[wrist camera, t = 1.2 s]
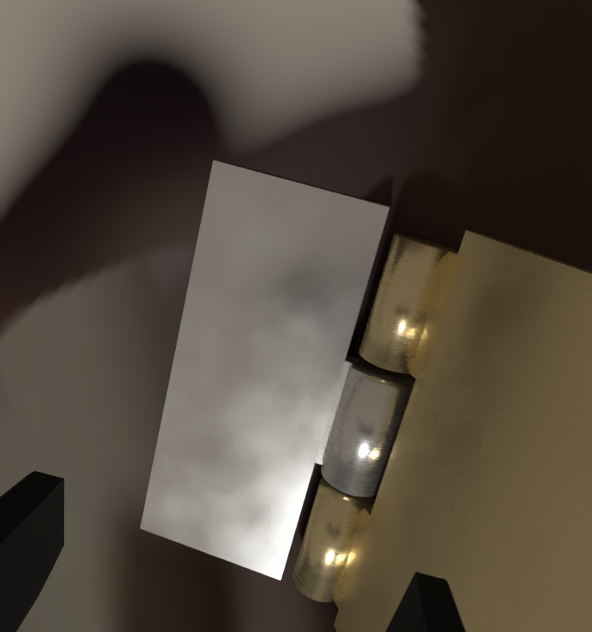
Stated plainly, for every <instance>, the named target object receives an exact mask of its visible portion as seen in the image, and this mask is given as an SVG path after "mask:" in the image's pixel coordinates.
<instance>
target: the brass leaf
mask: <svg viewBox="0 0 592 632" xmlns="http://www.w3.org/2000/svg"><path fill="white" fill-rule="evenodd" d="M359 354H360V356H361V357H362V358H364V359H365V360H366V361H368V362H370V363H371V364H373V365H376V366H378V367H380V368H383V369H386V370H389V371H393V372H398V373H409V374H411V375H412V376H413V377H414V378H416V380H415V383H414V386H413V389H412V392H411V395H410V398H409V401H408V404H407V407H406V410H405V413H404V416H403V419H402V422H401V425H400V428H399V431H398V434H397V437H396V440H395V443H394V446H393V449H392V452H391V455H390V458H389V461H388V464H387V467H386V470H385V473H384V476H383V479H382V482H381V485H380V488H379V491H378V494H377V497H376V500H375V503H374V496H371V497H358V496H353V495H349V494H346V493H343V492H341V491H339V490H337V489H336V488H334V487H333V486H331V485H330V484H329V483H328V482H327V481H326V480H325V479H324V477H323V478H322V479H321V480H320V483H319V487H318V490H317V493H316V497H315V500H314V503H313V507H312V510H311V513H310V517H309V520H308V523H307V527H306V530H305V533H304V537H303V540H302V544H301V547H300V550H299V554H298V557H297V560H296V564H295V567H294V570H293V581H294V584H295V585H296V587H297V588H298V590H299V591H300V592H301V593H303V594H304V595H305V596H307V597H309V598H311V599H313V600H316V601H319V602H332V601H334V602H335V603H336V605H337V607H338V609H339V610H338V613H337V616H336V619H335V622H334V627H335V629H336V631H337V632H386V629H387V627H388V625H389V623H390V621H391V619H392V617H393V615H394V614H395V612H396V610H397V608H398V606H399V604H400V602H401V600H402V598H403V596H404V594H405V592H406V590H407V588H408V586H409V584H410V582H411V580H412V578H413V576H414V574H415V572H419V573H423V574H427V575H430V576H434V577H438V578H442V579H445V580H446V581H447V582H448V584H449V586H450V589H451V592H452V595H453V598H454V600H455V603H456V606H457V609H458V611H459V614H460V617H461V620H462V622H463V625H464V628H465V630H466V632H592V271H590V270H587V269H584V268H581V267H579V266H576V265H573V264H570V263H567V262H564V261H561V260H558V259H555V258H552V257H549V256H546V255H543V254H541V253H538V252H535V251H532V250H529V249H526V248H523V247H520V246H517V245H514V244H511V243H508V242H505V241H503V240H500V239H497V238H494V237H491V236H488V235H485V234H481V233H476V232H472V231H467V230H466V231H465V234H464V237H463V240H462V243H461V246H460V249H459V252H457V250H455V249H453V248H451V247H448V246H446V245H443V244H440V243H437V242H433V241H430V240H426V239H423V238H419V237H415V236H410V235H406V234H400V233H394V236H393V239H392V242H391V246H390V249H389V252H388V256H387V259H386V262H385V266H384V269H383V272H382V276H381V279H380V282H379V286H378V289H377V292H376V296H375V299H374V302H373V306H372V309H371V313H370V316H369V319H368V323H367V326H366V329H365V333H364V336H363V339H362V343H361V346H360V349H359ZM373 503H374V505H373Z"/></svg>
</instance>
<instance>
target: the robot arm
mask: <svg viewBox="0 0 592 632" xmlns="http://www.w3.org/2000/svg"><path fill="white" fill-rule="evenodd" d="M63 546H64V478H60V477H56V476H52V475H49V474H45V473H41V472H37V471H34V472H32V473H30V474H29V475H27V476H26V477H25V478H23V479H22V480H21V481H20V482H18V483H17V484H16V485H15V486H13V487H12V488H11V489H10V490H8V491H7V492H6V493H5V494H3V495H2V496H1V497H0V632H16V631H17V629H18V628H19V626H20V625H21V623H22V621H23V620H24V618H25V617H26V615H27V614H28V612H29V610H30V609H31V607H32V606H33V604H34V602H35V601H36V599H37V598H38V596H39V594H40V592H41V590H42V588H43V586H44V584H45V582H46V580H47V578H48V576H49V575H50V573H51V571H52V568H53V566H54V564H55V562H56V560H57V558H58V556H59V554H60V552H61V550H62V548H63ZM386 632H466V630H465V628H464V625H463V622H462V620H461V617H460V614H459V611H458V609H457V606H456V603H455V600H454V598H453V595H452V592H451V589H450V586H449V584H448V582H447V581H446V580H445V579H442V578H438V577H434V576H430V575H427V574H423V573H419V572H415V574H414V576H413V578H412V580H411V582H410V584H409V586H408V588H407V590H406V592H405V594H404V596H403V598H402V600H401V602H400V604H399V606H398V608H397V610H396V612H395V614H394V615H393V617H392V619H391V621H390V623H389V625H388V627H387V629H386Z"/></svg>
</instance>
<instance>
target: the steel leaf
mask: <svg viewBox="0 0 592 632" xmlns="http://www.w3.org/2000/svg"><path fill="white" fill-rule="evenodd" d="M390 207H391V206H389V205H385V204H381V203H377V202H374V201H370V200H366V199H362V198H359V197H355V196H351V195H347V194H343V193H340V192H336V191H332V190H329V189H325V188H321V187H317V186H314V185H310V184H306V183H302V182H299V181H295V180H291V179H287V178H283V177H280V176H276V175H272V174H269V173H265V172H261V171H257V170H254V169H250V168H246V167H243V166H239V165H235V164H231V163H228V162H224V161H216V160H213V165H212V170H211V175H210V180H209V185H208V190H207V195H206V200H205V205H204V210H203V215H202V220H201V225H200V230H199V235H198V240H197V245H196V250H195V255H194V260H193V265H192V270H191V275H190V280H189V285H188V290H187V295H186V300H185V305H184V310H183V315H182V320H181V325H180V330H179V336H178V341H177V346H176V351H175V356H174V361H173V366H172V371H171V376H170V381H169V386H168V391H167V396H166V401H165V406H164V411H163V416H162V421H161V426H160V431H159V436H158V441H157V446H156V451H155V456H154V461H153V466H152V471H151V476H150V481H149V486H148V491H147V496H146V501H145V506H144V512H143V517H142V522H141V527H140V529H143V530H145V531H148V532H151V533H154V534H156V535H159V536H162V537H164V538H167V539H170V540H173V541H175V542H178V543H181V544H183V545H186V546H189V547H192V548H194V549H197V550H200V551H202V552H205V553H208V554H211V555H213V556H216V557H219V558H221V559H224V560H227V561H230V562H232V563H235V564H238V565H240V566H243V567H246V568H249V569H251V570H254V571H257V572H259V573H262V574H265V575H268V576H270V577H273V578H276V579H278V580H281V577H282V574H283V572H284V569H285V566H286V562H287V559H288V555H289V552H290V549H291V545H292V542H293V538H294V535H295V532H296V528H297V525H298V521H299V518H300V514H301V511H302V508H303V504H304V501H305V497H306V494H307V491H308V487H309V484H310V480H311V477H312V474H313V470H314V467H315V463H318V464H321V465H322V467H321V473H322V476H323V477H324V479H325V480H326V481H327V482H328V483H329V484H330V485H331V486H333V487H334V488H336V489H337V490H339V491H341V492H343V493H346V494H349V495H353V496H358V497H371V496H374V495H376V494H378V491H379V488H380V485H381V482H382V479H383V476H384V473H385V470H386V467H387V464H388V461H389V458H390V455H391V452H392V449H393V446H394V443H395V440H396V437H397V434H398V431H399V428H400V425H401V422H402V419H403V416H404V413H405V410H406V407H407V404H408V401H409V398H410V395H411V392H412V389H413V386H414V383H415V381H414V380H413V379H412V378H411V377H410V376H408V375H407V374H405V373H398V372H393V371H389V370H386V369H383V368H380V367H378V366H376V365H373V364H371V363H370V362H368V361H365V360H363V359H360V358H357V357H353V356H350V355H347V354H348V351H349V347H350V344H351V340H352V337H353V334H354V330H355V327H356V323H357V320H358V316H359V313H360V310H361V306H362V303H363V299H364V296H365V293H366V289H367V286H368V282H369V279H370V276H371V272H372V269H373V265H374V262H375V258H376V255H377V252H378V248H379V245H380V241H381V238H382V235H383V231H384V228H385V224H386V221H387V217H388V214H389V211H390Z"/></svg>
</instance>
